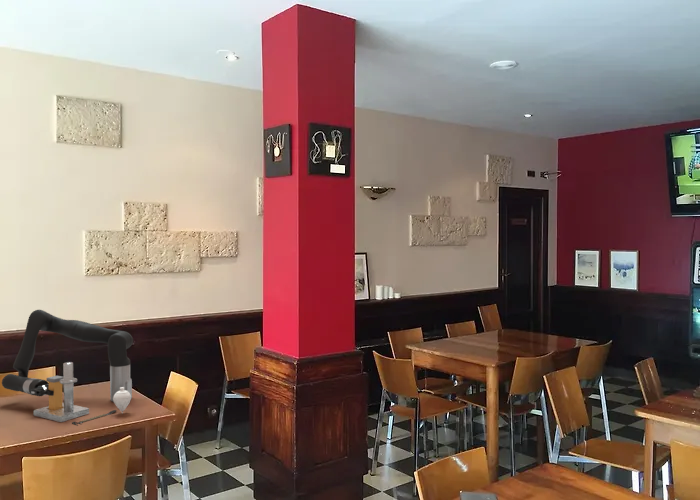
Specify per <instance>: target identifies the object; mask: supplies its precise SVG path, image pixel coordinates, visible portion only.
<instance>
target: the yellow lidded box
mask: <svg viewBox="0 0 700 500" xmlns="http://www.w3.org/2000/svg"><path fill="white" fill-rule="evenodd" d="M61 379H63V376H61V375H53V376H50V377H46V381H47V382H48V383H49V390H53V391H54V395H53V396H50V395H48V406H49V410H53V411H54V410H58V409H61V408H62V403H63V392H62V384H60V380H61Z"/></svg>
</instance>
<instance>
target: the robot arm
mask: <svg viewBox="0 0 700 500" xmlns="http://www.w3.org/2000/svg"><path fill="white" fill-rule="evenodd" d="M28 316H29V317H28V320H27V324H26V327H25V331H24V335H23V338H22V339H23V340H22V342H21V346H20V348H19V350H18V353H17V355H16V357H15V360H14V362H13V366H12V368H13V369H14V370H15V371H17V372H18V373H17V374H18V375H17V374H13V373H9V374H6V375H4V377H3V378H2V380H1V385H2V387H3V388H4V389H6V390H10V391H15V392H21V393H24V394H28V395H31V396H35V397H43V396H49V395H50V396H53V395H54V391H53V390H49V382H48V381H47V379H40V378H35V377H29V371H30V367H31V366H32V365H31V364H32V362H33V360H34V356H35V353H36V344H37V343H36V342H37V338H38V335H39V333H40V331H42V332H49V333H54V334H56V333H57V334H60V335H63V336H65V337H67V338H70V339H73V340H77V341H79V342H80V341H81V342H87V343H102V344H107V354H108V356H107V357H108V360H109V377H110V379H109V380H110V381H109V383H110V384H109V385H110V387H109V389H110V391H109V393H110V402H113V403H114V401H113V397H114V395H115V393H116V392H118V391H120V388H121V387H124V390H126V391H128V392H129V393H130V394H131V399H132V398H133V394H132V393H133V388H132V387H133V383H132V382H133V381H132V380H133V379H132V378H131V359H130V358H129V357H128V356H127V353H128V352H127V349H129V348H131V346H132V345H133V344H134V337H133V336H132V335H131V333H129V332H128V331H126V330H125V331H124V330H118V329H111V328H106V327H103V326H100V325H96V324H93V323H90V322H86V321H82V320H78V319H77V320H76V319H64V318H61V317H57V316H55V315H53V314H52V313H49V312H47V311H45V310H44V309H43V310H42V309H35V310H33V311H32V312H31V313H30V315H28ZM62 393H64V386H63V384H62Z"/></svg>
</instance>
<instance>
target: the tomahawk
mask: <svg viewBox="0 0 700 500" xmlns="http://www.w3.org/2000/svg"><path fill="white" fill-rule="evenodd" d="M116 412H117V409H114V410H110V411H109V412H108V413H103V414H98V415H96V416H94V417H93V416H92V417H90V418H87V419H84V420H80V421H79V422H76V421H72V422H71V425H74V426H77V427H78V426H79V425H81V424H83V423H86V422H89V421H92V420H96V419H100V418H103V417H107V416H110V415H112V414H113V413H116ZM78 424H79V425H78Z"/></svg>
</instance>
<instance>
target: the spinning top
mask: <svg viewBox="0 0 700 500" xmlns="http://www.w3.org/2000/svg"><path fill="white" fill-rule="evenodd" d="M131 400H132V398H131V394H130V393H129V392H128V391H126V390H124V387H121V388H120V391H118V392H116V393H115V395H114V397H113V401H114V402H113V401H112V402H113V404H114V405H115V406H116V408H117V409H118V410H119V411H120V412H121V414H122V415H123V413H124V412H125V410H126V409H127V407H128V405H130V403H131Z"/></svg>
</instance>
